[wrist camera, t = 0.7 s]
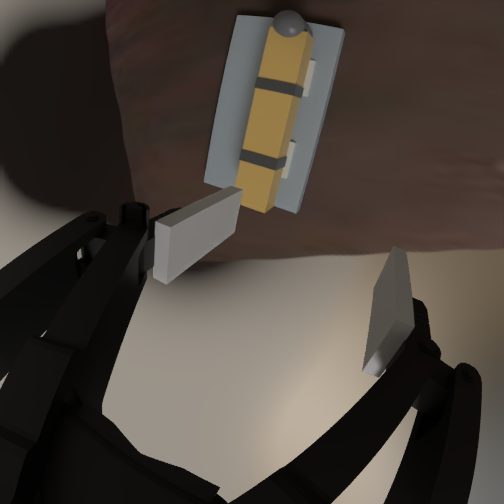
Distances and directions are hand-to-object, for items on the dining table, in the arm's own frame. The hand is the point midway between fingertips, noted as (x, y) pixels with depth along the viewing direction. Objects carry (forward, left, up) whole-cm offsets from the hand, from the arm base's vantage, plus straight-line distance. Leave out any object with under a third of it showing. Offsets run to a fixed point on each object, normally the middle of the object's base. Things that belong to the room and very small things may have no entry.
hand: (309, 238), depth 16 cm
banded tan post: (-6, -9, -18) cm, 21 cm away
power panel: (-6, -11, -20) cm, 24 cm away
